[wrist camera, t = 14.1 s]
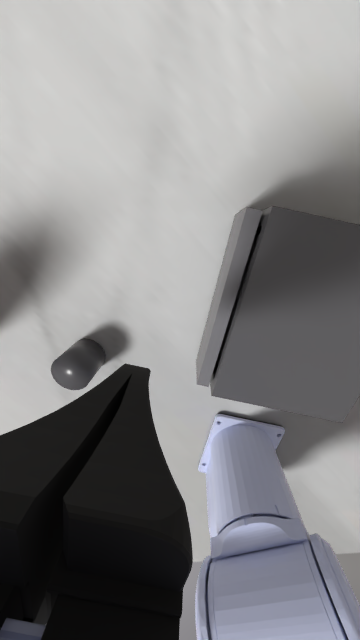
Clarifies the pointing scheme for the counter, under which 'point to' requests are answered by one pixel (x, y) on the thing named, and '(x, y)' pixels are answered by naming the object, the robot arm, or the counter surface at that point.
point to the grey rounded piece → (78, 364)
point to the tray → (227, 291)
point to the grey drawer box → (297, 319)
